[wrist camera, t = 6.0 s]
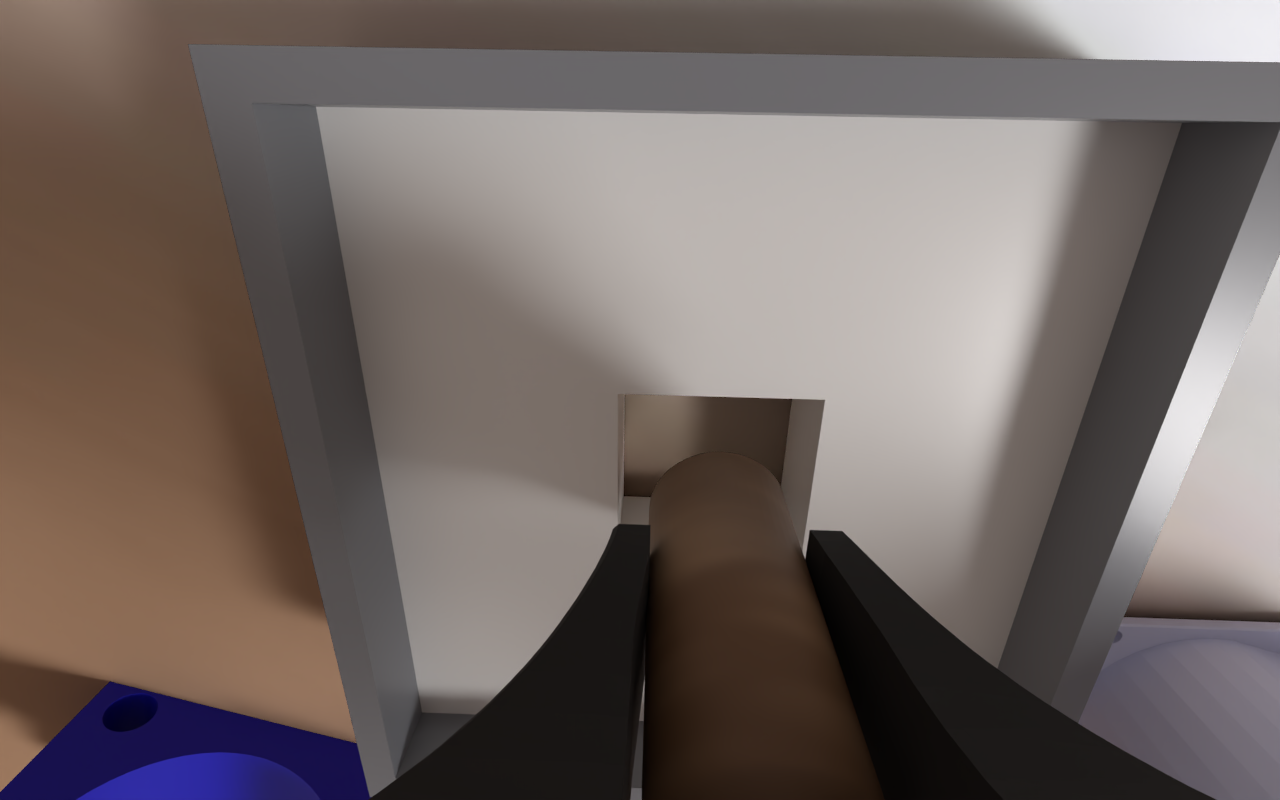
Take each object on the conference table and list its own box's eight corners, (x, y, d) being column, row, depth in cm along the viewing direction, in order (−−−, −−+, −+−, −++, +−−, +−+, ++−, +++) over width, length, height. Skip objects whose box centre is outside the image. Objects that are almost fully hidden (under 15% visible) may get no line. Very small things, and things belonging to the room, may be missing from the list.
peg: (792, 453, 13) (919, 770, 7) (777, 567, 14) (871, 925, 8) (650, 449, 13) (642, 760, 7) (647, 563, 14) (638, 915, 8)
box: (1128, 84, 14) (1362, 63, 9) (952, 671, 21) (1034, 824, 16) (341, 71, 14) (187, 44, 10) (432, 652, 21) (369, 796, 17)
